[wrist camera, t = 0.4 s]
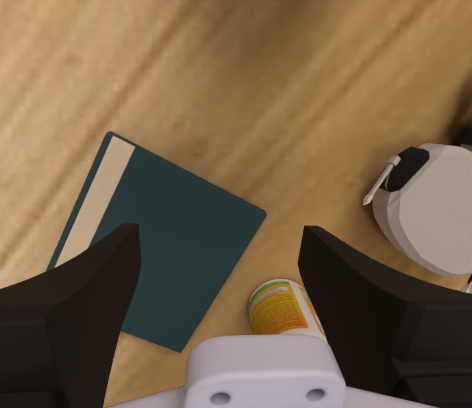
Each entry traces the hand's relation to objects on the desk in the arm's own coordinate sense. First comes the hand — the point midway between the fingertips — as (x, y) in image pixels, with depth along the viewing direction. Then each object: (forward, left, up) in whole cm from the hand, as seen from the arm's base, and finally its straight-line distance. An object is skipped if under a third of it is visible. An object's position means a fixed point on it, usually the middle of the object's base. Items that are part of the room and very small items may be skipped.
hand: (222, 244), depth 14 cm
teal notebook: (-8, +2, -11) cm, 14 cm away
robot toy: (+10, -16, -11) cm, 22 cm away
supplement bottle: (-7, -10, -11) cm, 17 cm away
